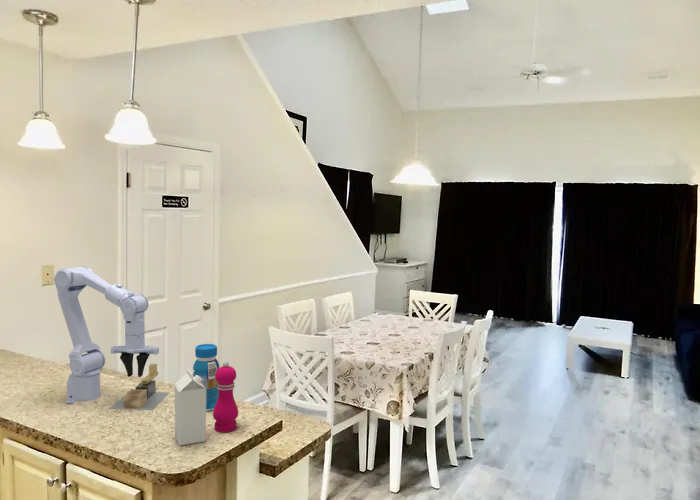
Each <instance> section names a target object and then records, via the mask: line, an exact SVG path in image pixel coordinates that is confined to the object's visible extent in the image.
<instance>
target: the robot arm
mask: <svg viewBox="0 0 700 500" xmlns="http://www.w3.org/2000/svg"><path fill="white" fill-rule="evenodd" d="M53 282H54V284H55V288H56V291H57V297H58V298H57V299H58V302H59V304H60V308H61V310H62V314H63V316H64V320H65V323H66V328H67V329H68V330H67V331H68V333H69V336H70V339H71V340H70V341H71V343H72V347H73V348H72V349H71V351H70V352H69V354H68V358H69V369H70V371H71V373H70V375H69V376H68V377H67V381H66V398H67V399H66V401H65V403H66V404H74V403H76V402H78V401H79V402H80V401H81V402H88V401H89V402H90V401H93V400H97V399H100V397H101V372H102V368H103V367H105V364H106V356H105V354H104V353H103V351H102V350H101V348H100V345H98V344H97V343H94V342H93V341H92V338H91V336H90V331H89V329H88V326H87V323H86V320H85V319H86V318H85V316H84V313H83V310H82V306H81V303H80V301H79V295H80V293H81V292H83V290H84V289H85V288H86V287H87V286H88V287H89V288H91V289H94V291H95V290H96V291H98V292H99V293H102V294H103V295H104V298H105V300H107V301H108V302H110V303H112V304H113V305H115V306H117V307H118V308H119V309H120V311H121V313H122V316H123V319H124V342H125V343H124V345H113V346H111V347H110V354H111V355H113V354H120V356H119V359H120V360H121V362H122V364H123V365H124V368H125V370H126V371H125V372H126V374H127V377H128V378H130V377H132V376H133V374H134V368H133V365H134V364H133V363H134V355H135V354H138V355H136V357H135V359H136V362H137V377H138V378H141V377H142V376H143V375H144V370H145V366H146V364H147V361H148V359H149V357H150V355H154V356H155V355H156V356H157V355H158V354H159V353H160V347H159V346H152V345H146V344H145V342H146V341H145V340H146V339H145V338H146V337H145V333H146V331H145V312H146V311H148V308H149V300H148V299H147V297H146V296H144V294H142V293H140V294H135V293H134V292H133V291H130V290H129V289H126V288H124V286H123V285H122V284H120V283H118V284H117V283H116V284H115V283H114V284H110V283H109V282H108V281H106V280H105V279H103V278H102V277H100V276H99V275H97V274H96V273H94V270H93V269H91V268H89V267H88V266H85V265H82V266H77V267H68V268H60V269H58V270H57V271H56V273H55V275H54V278H53Z"/></svg>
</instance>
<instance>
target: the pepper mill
mask: <svg viewBox="0 0 700 500" xmlns="http://www.w3.org/2000/svg"><path fill="white" fill-rule="evenodd" d="M215 378H216V380H217V381H218V383H217V389H218V391H219V394H218V400H217V402H216V405H215V407H214V410H212V417H213V419H214V420H215V421H214V430H215V431H216V432H219V433H229V432H232V431H235V430H236V429H237V427H238V426H237V420H236V419H237V418H238V416H239V407H238V404H237V403H236V400H235V398H234V388H235V387H236V386H235V381H236V380H237V371H236V369H235V368H234V367H233V366H230V362H229V361H228V360H224V361H223V362H222V366H219V368H218V369H217V371H216V373H215Z"/></svg>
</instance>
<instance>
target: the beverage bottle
mask: <svg viewBox="0 0 700 500" xmlns="http://www.w3.org/2000/svg"><path fill="white" fill-rule="evenodd" d="M194 351H195V353H194V355H195V358H196V359H195V361H194V363H193V364H192V365H193V366H192V370H193V372H192V375H193V376H194V377H195V376H196V375H198V376H199V377H201V378H202V379H203V380H202V381H201V383H202V384H203V386H204V387H205V389H206V412H210V411H213V410H214V407H215V405H216V402H217V400H218V394H219V391H218V389H217V383H218V381H217V380H216V378H215V373H216V371H217V369H218V368H220V363H219V360H218V359H217V358H216V357H217V356H218V346H217V345H216V344H213V343H201V344H198V345H196V346H195V350H194Z"/></svg>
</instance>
